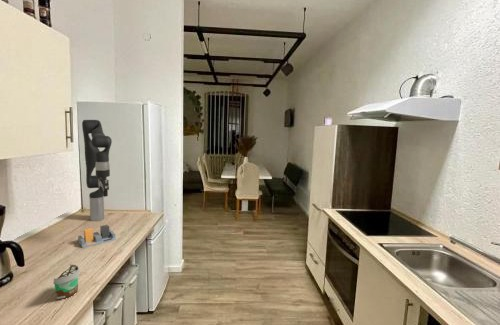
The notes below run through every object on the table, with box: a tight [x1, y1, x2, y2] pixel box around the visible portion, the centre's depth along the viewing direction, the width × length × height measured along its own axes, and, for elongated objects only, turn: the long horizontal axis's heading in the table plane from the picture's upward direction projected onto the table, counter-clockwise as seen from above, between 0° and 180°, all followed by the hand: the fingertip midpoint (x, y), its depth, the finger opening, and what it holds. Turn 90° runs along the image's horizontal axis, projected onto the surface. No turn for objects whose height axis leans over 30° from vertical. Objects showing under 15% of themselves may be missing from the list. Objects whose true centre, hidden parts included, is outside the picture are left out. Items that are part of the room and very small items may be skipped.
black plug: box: [99, 224, 110, 239], centre depth 168 cm, size 4×4×7 cm
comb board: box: [77, 228, 117, 249], centre depth 165 cm, size 13×18×4 cm
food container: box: [53, 264, 81, 301], centre depth 113 cm, size 12×6×10 cm, turn 5°
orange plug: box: [83, 227, 94, 243], centre depth 162 cm, size 4×4×7 cm
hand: (103, 194), depth 165 cm, fingers open, 8 cm apart
